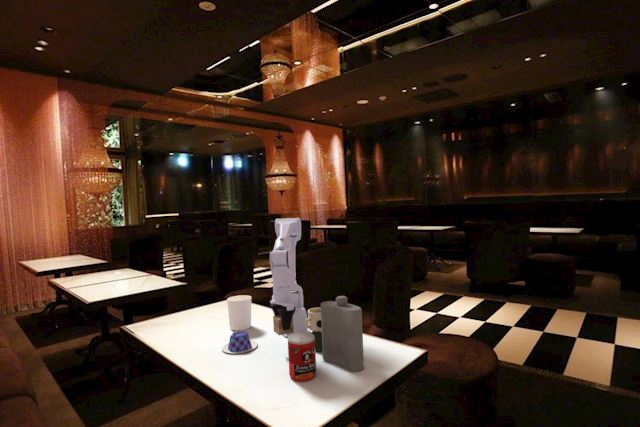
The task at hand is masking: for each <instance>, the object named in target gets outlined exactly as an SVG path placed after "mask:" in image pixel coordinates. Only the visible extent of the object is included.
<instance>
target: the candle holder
mask: <svg viewBox="0 0 640 427" xmlns="http://www.w3.org/2000/svg"><path fill="white" fill-rule="evenodd" d="M252 298H253V297H252V296H251V295H246V294H245V295H244V294H242V295H241V294H239V295H235V296H233V295H232V296H229V297H228V298H227V299H226V301H227V302H226V304H227V312H228V321H229V329H230V330H231V331H234V332H238V331H245V330H248V329H250V328H251V326H252Z"/></svg>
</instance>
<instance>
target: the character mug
mask: <svg viewBox="0 0 640 427" xmlns="http://www.w3.org/2000/svg"><path fill="white" fill-rule="evenodd" d="M305 327H306V328H308V331H311V334H313V335H314V337H315V351H323V347H322V324H321V306H320V307H312V308H309V309H307V318H306V319H305Z"/></svg>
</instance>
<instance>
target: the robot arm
mask: <svg viewBox="0 0 640 427" xmlns="http://www.w3.org/2000/svg"><path fill="white" fill-rule="evenodd" d="M274 230H275V231H274V232H275V234H276V237H277V238H276V239H275V243H274V246H273V249H272V251H270V252H269V265H270V272H271V274H272V276H271V277H272V293H273V294H272V296H271V300H269V303H270V304H269V307H270V309H271V310H272V313H273V314H274V315H273V316H276V315H280V317H281V321H282V327H283V330H289V329H290V326H291V321H292V317H293V331H294V332H293V333H288V334H284V335H282V336H283V337H284V338H288V337H289V336H290V335H292V334H295V333H301V332H306V333H309V328H306V327H305V319H306V318H308V312H307V310H306V308H305V307H304V294H303V293H304V292H303V288H302V287H301V285H299V284H298V283H296V277H297V276H296V274H297V273H296V272H297V271H296V246H297V243H298V241H300V240H301V238H302V221H301V218H300V217H294V218H293V217H289V218H288V217H287V218H276V219H275V221H274Z"/></svg>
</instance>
